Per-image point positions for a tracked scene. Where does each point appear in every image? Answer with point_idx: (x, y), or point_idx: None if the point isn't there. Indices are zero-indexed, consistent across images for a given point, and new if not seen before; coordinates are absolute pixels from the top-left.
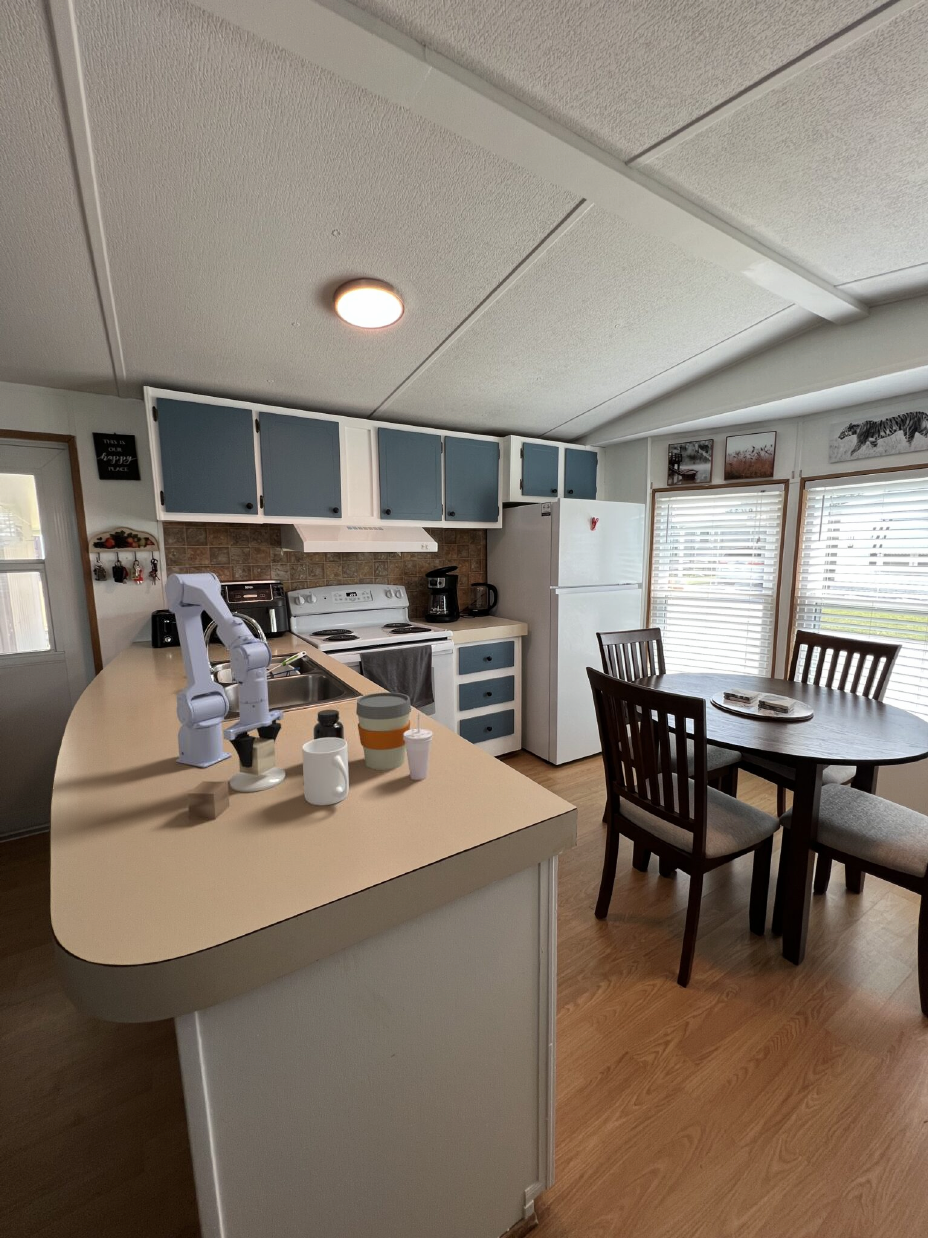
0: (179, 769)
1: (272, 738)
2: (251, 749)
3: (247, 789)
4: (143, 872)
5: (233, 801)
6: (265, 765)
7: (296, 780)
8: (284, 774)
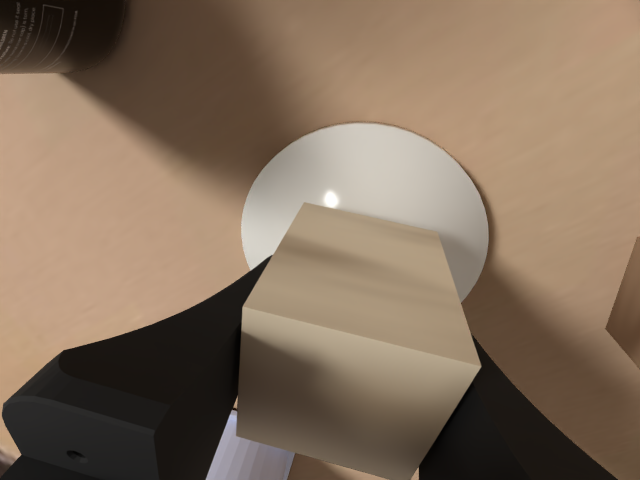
0: (320, 468)
1: (230, 331)
2: (488, 391)
3: (488, 235)
4: None
5: (582, 243)
6: (379, 236)
7: (325, 45)
8: (309, 137)
